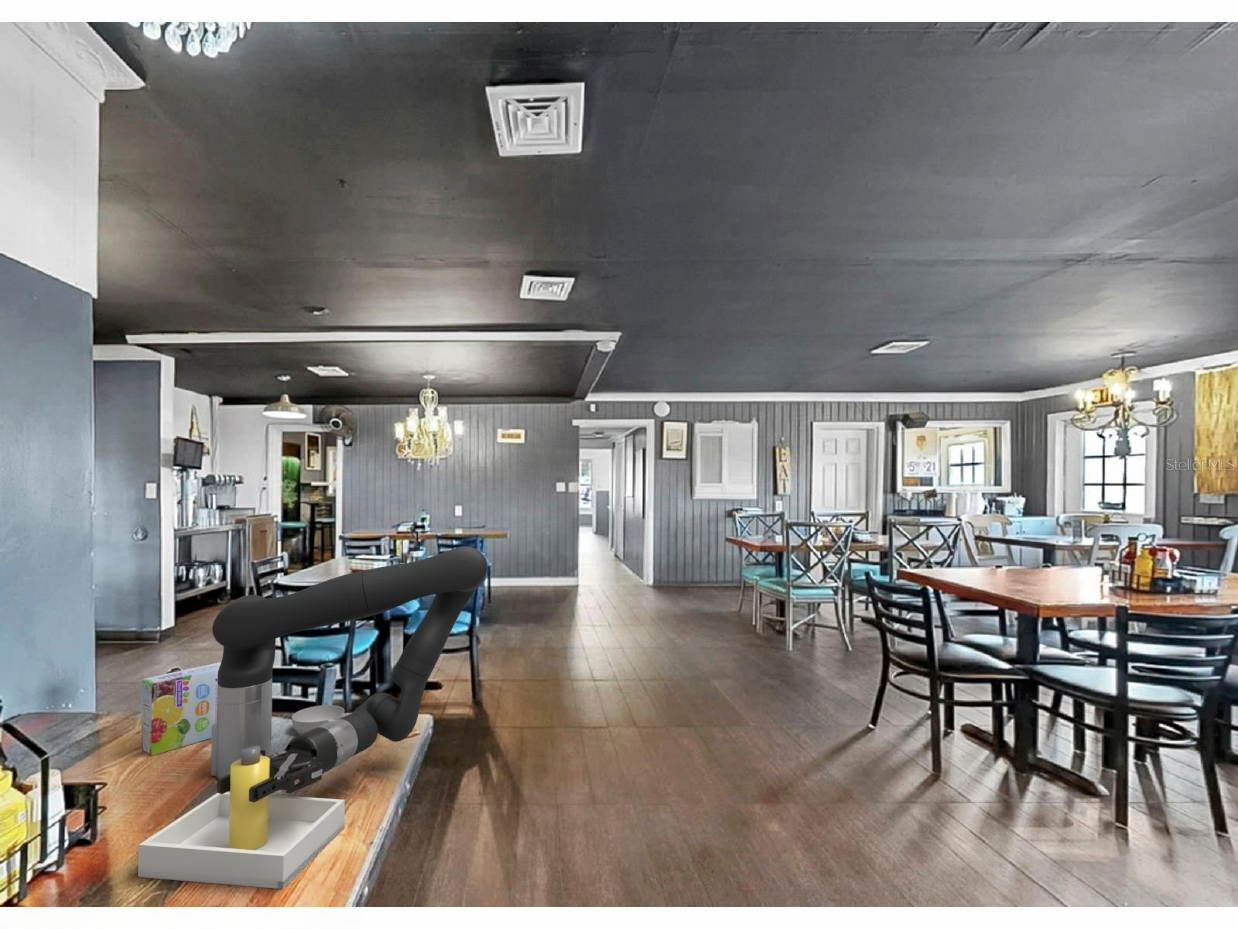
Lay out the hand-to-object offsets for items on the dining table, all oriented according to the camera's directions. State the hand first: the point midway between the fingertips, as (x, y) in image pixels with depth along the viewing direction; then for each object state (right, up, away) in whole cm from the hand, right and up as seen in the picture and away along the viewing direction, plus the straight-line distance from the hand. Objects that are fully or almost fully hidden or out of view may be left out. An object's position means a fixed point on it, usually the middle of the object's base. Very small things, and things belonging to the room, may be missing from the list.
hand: (234, 791), depth 98 cm
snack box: (-33, -11, +45) cm, 57 cm away
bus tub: (+1, -10, +2) cm, 10 cm away
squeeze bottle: (+1, -9, +2) cm, 9 cm away
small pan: (-8, -11, +48) cm, 50 cm away
